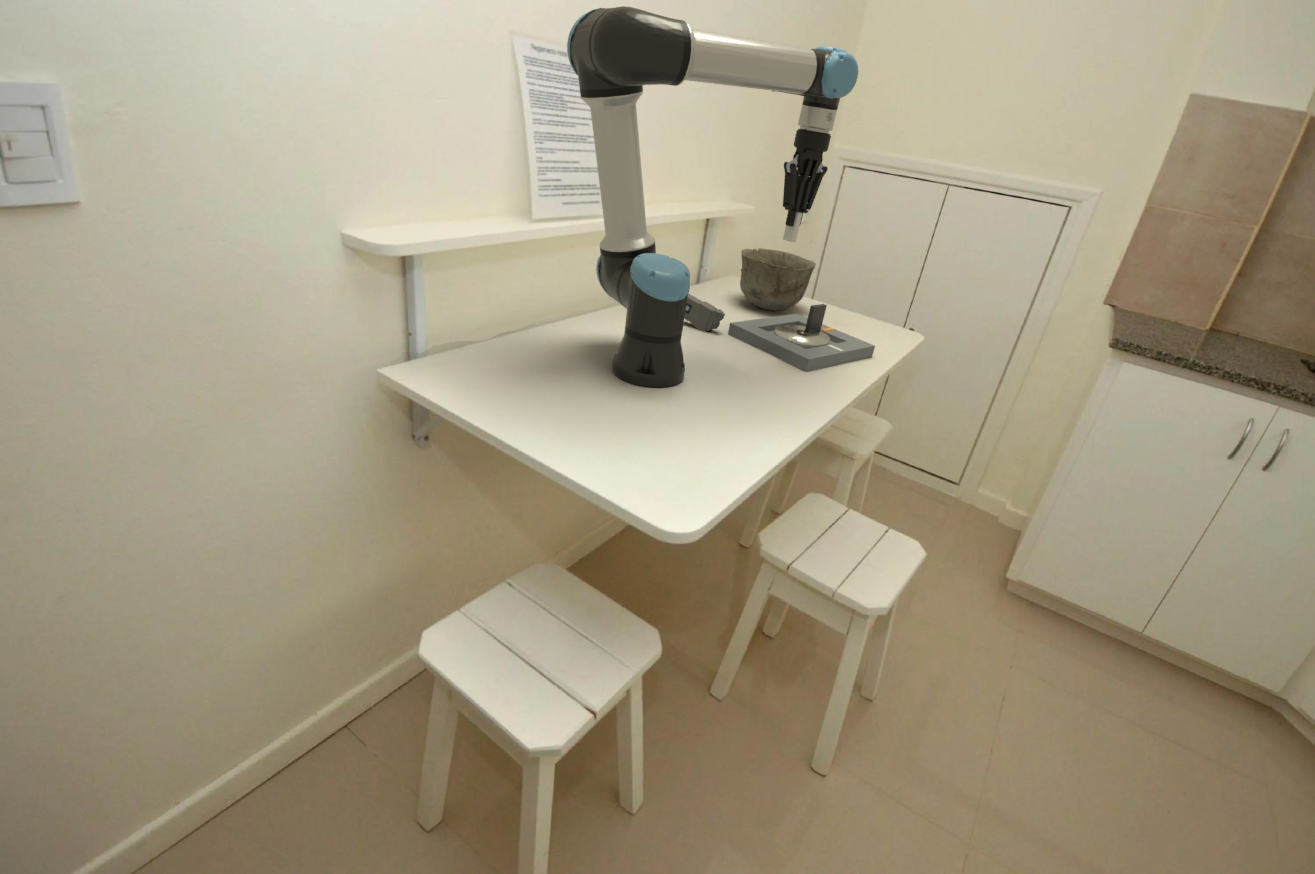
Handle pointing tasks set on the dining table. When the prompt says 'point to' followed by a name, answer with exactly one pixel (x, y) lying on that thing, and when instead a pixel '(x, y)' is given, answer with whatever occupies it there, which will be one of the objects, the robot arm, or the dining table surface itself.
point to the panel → (806, 359)
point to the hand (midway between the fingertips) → (789, 240)
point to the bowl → (774, 278)
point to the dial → (806, 330)
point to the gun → (702, 314)
